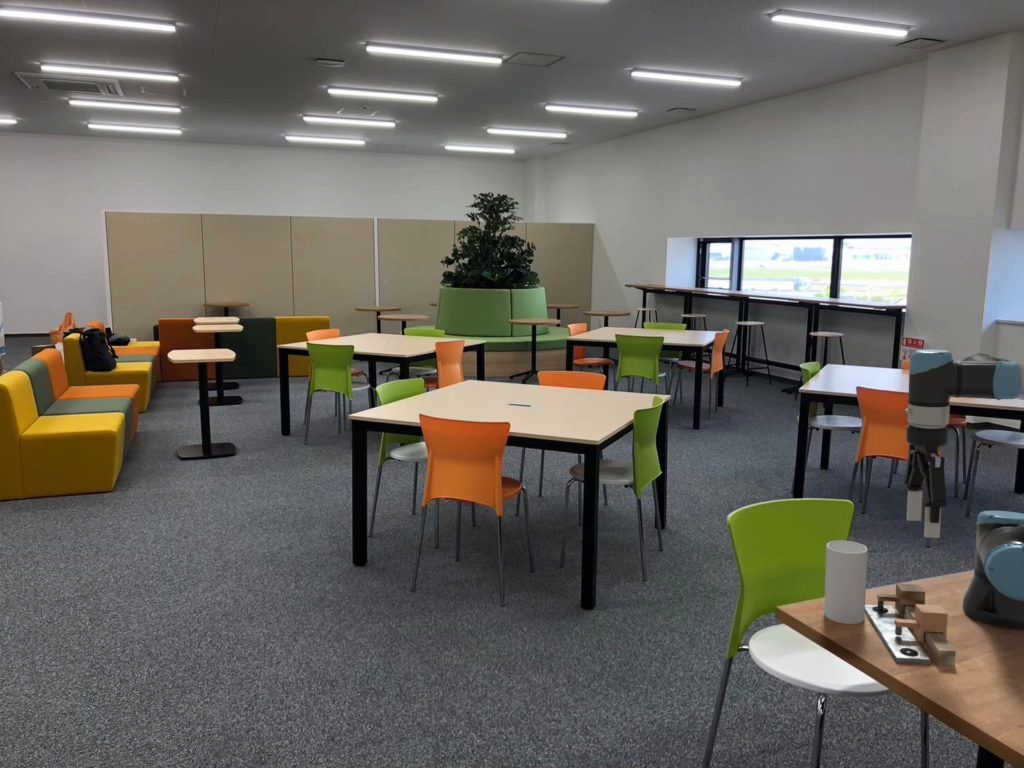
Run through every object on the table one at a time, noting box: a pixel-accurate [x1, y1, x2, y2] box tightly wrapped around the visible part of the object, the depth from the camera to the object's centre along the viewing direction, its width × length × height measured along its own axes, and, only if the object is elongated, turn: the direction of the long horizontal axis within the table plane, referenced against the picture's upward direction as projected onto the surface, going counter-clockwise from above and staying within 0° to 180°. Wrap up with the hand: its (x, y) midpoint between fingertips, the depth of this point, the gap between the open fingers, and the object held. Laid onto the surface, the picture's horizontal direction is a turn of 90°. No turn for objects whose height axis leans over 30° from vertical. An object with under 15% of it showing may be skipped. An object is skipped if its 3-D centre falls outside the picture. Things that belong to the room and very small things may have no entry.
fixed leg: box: [876, 583, 926, 616], centre depth 173 cm, size 9×4×6 cm, turn 80°
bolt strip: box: [865, 604, 931, 665], centre depth 164 cm, size 6×25×1 cm, turn 170°
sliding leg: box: [895, 604, 948, 643], centre depth 160 cm, size 9×4×6 cm, turn 80°
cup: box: [823, 540, 868, 625], centre depth 172 cm, size 8×8×16 cm
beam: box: [901, 605, 957, 667], centre depth 163 cm, size 3×25×3 cm, turn 170°
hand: (922, 528), depth 165 cm, fingers open, 10 cm apart
